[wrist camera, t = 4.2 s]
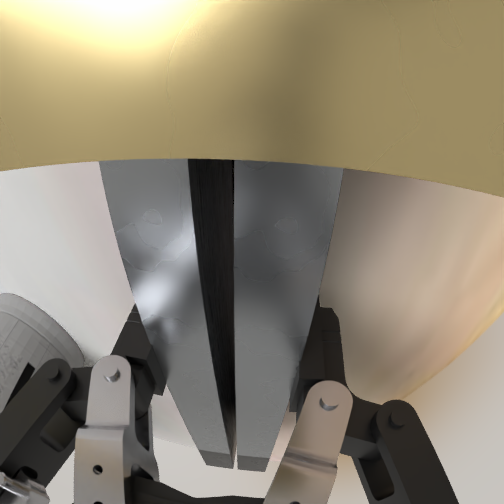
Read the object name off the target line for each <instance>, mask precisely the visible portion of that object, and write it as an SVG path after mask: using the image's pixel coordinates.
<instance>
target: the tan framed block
mask: <svg viewBox="0 0 504 504" xmlns="http://www.w3.org/2000/svg"><path fill="white" fill-rule="evenodd" d="M129 159H231V160H253V161H270V162H285V163H298V164H309V165H319V166H329V167H338V168H347V169H355V170H363V171H370V172H377V173H384V174H391V175H397V176H404V177H410V178H415V179H421V180H427V181H432V182H437V183H442V184H447V185H452V186H457V187H462V188H466V189H471V190H475V191H480V192H484V193H488V194H492V195H496V196H500V197H504V0H0V171H6V170H13V169H20V168H28V167H36V166H45V165H55V164H66V163H77V162H91V161H107V160H129Z"/></svg>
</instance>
